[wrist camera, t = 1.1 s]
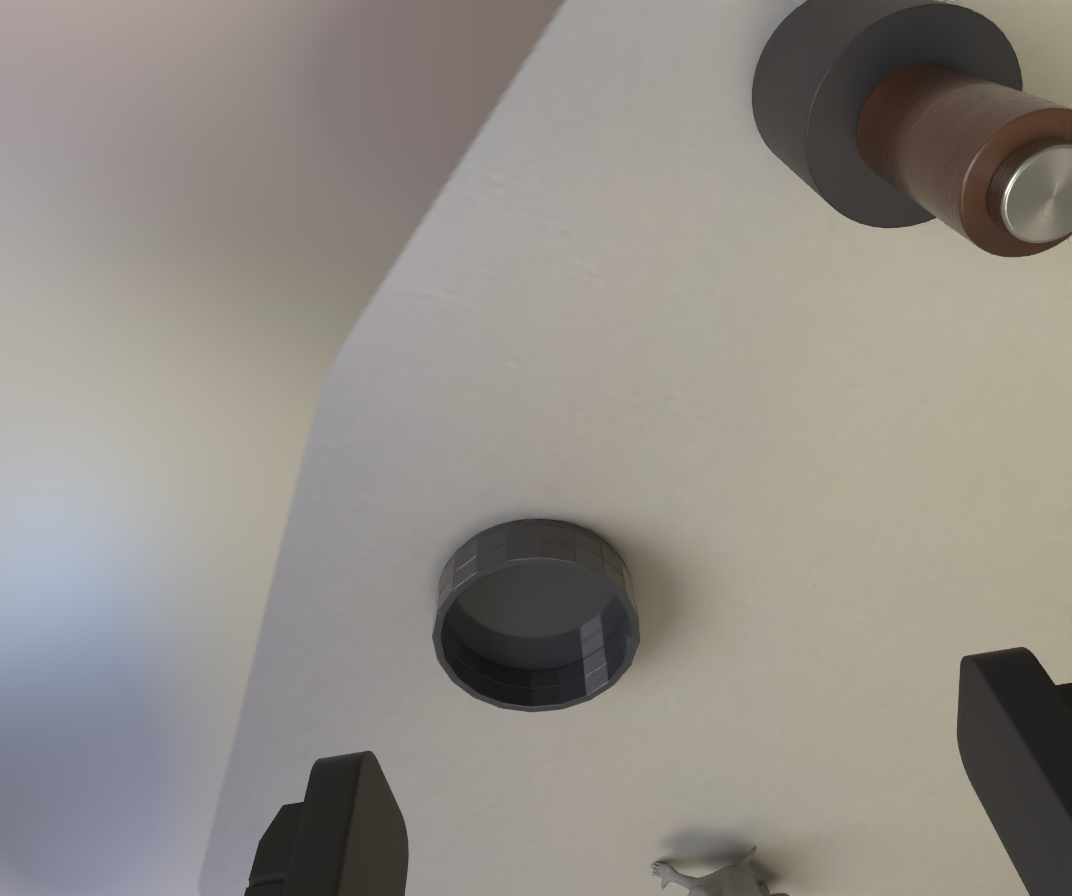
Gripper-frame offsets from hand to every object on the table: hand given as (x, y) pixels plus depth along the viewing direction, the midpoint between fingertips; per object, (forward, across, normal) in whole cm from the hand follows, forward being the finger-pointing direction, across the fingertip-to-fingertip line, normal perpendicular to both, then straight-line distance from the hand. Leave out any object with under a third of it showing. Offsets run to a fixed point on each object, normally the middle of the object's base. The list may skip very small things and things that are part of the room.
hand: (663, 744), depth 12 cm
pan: (+26, +5, +19) cm, 33 cm away
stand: (+26, -11, -2) cm, 28 cm away
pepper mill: (+19, -11, -2) cm, 22 cm away
